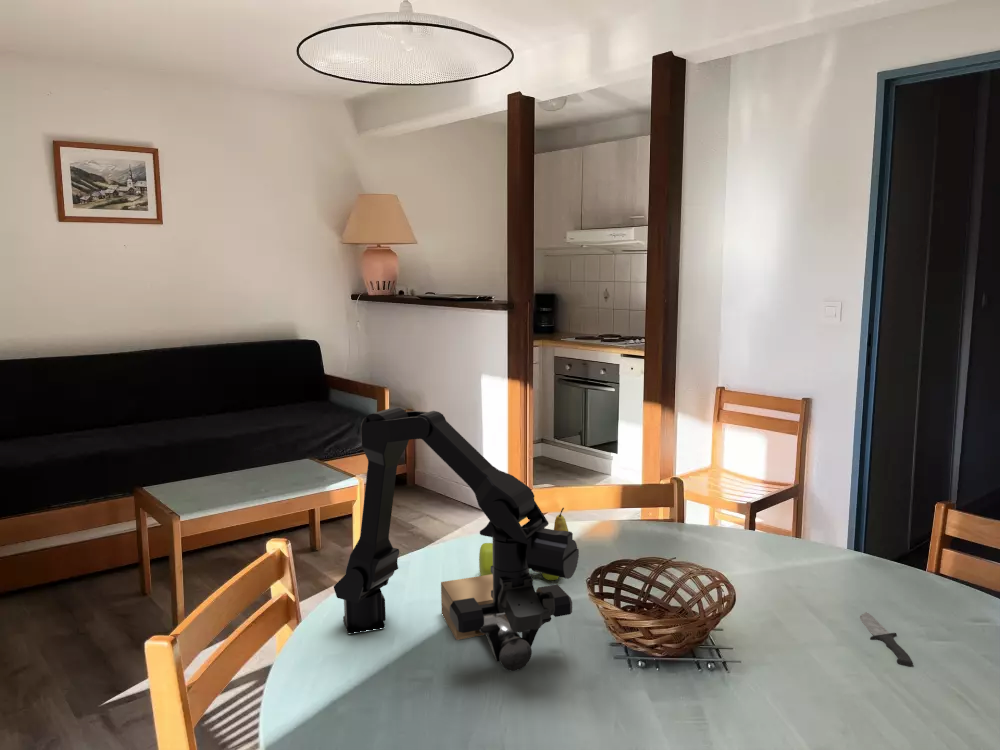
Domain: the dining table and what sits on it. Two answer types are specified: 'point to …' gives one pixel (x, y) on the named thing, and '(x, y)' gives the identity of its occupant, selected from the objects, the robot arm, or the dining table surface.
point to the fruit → (560, 523)
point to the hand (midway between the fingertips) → (511, 657)
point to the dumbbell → (487, 561)
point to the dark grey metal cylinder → (512, 646)
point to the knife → (885, 638)
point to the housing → (464, 590)
